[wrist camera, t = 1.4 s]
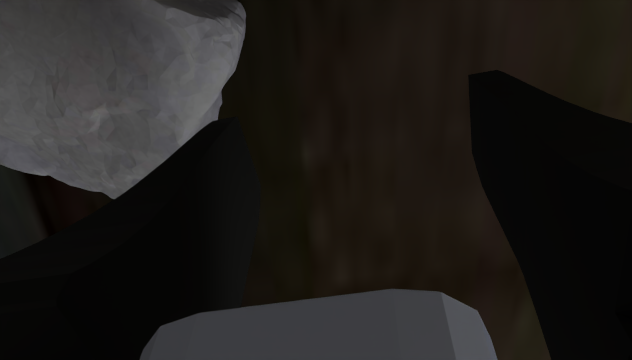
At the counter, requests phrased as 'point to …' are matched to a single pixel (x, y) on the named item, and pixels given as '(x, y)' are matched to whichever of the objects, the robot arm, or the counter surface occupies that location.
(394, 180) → the counter surface
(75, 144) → the stone block
